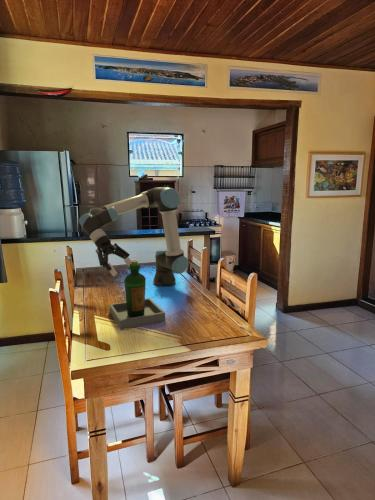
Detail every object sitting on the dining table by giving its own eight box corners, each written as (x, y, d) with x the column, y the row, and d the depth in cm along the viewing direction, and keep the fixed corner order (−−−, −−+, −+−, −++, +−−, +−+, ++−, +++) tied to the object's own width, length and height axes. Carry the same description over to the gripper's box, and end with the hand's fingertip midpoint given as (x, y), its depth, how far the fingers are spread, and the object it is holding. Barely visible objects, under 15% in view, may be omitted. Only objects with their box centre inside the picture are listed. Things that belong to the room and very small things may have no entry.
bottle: (142, 319, 156) (141, 264, 150) (122, 317, 158) (119, 263, 152) (149, 311, 166) (148, 259, 160) (130, 309, 168) (128, 258, 162)
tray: (150, 305, 177) (149, 297, 176) (165, 321, 157) (165, 312, 156) (109, 312, 167) (109, 304, 166) (120, 330, 148) (120, 321, 147)
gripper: (113, 240, 176) (135, 270, 173) (78, 248, 155) (103, 282, 151) (120, 231, 173) (143, 261, 169) (85, 238, 151) (111, 273, 148)
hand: (124, 271), depth 160 cm, fingers open, 13 cm apart
